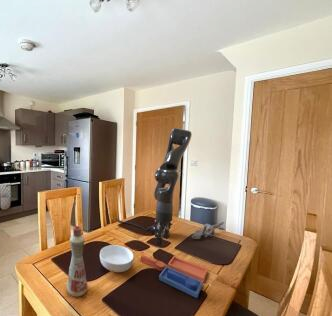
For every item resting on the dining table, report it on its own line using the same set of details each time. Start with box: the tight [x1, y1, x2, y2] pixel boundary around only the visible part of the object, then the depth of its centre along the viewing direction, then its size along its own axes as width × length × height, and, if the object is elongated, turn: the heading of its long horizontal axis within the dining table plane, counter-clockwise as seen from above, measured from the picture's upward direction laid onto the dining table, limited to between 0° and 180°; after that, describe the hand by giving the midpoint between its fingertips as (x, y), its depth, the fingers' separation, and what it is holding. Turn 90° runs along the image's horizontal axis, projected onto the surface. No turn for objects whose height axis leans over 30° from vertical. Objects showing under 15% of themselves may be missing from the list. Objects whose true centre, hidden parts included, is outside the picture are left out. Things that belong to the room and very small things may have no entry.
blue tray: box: [158, 266, 203, 299], centre depth 89 cm, size 16×9×2 cm, turn 50°
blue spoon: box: [167, 270, 197, 291], centre depth 88 cm, size 12×5×3 cm, turn 50°
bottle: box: [66, 225, 88, 298], centre depth 82 cm, size 9×9×28 cm
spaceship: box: [191, 221, 225, 240], centre depth 136 cm, size 8×35×8 cm
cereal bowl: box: [99, 244, 135, 273], centre depth 99 cm, size 17×17×7 cm
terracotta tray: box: [167, 255, 209, 283], centre depth 98 cm, size 16×9×2 cm, turn 50°
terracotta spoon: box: [140, 254, 166, 272], centre depth 101 cm, size 12×5×3 cm, turn 50°
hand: (162, 241), depth 96 cm, fingers open, 8 cm apart
